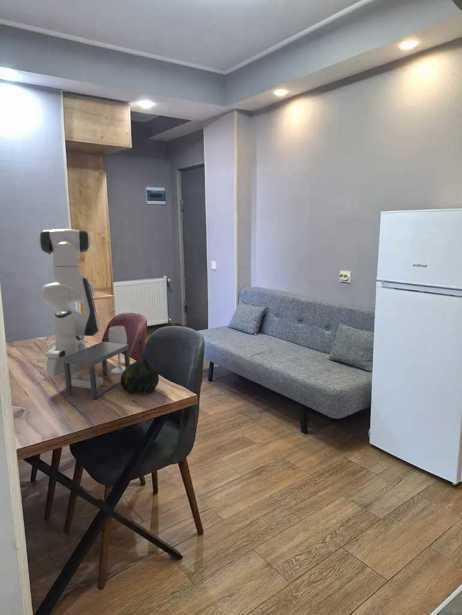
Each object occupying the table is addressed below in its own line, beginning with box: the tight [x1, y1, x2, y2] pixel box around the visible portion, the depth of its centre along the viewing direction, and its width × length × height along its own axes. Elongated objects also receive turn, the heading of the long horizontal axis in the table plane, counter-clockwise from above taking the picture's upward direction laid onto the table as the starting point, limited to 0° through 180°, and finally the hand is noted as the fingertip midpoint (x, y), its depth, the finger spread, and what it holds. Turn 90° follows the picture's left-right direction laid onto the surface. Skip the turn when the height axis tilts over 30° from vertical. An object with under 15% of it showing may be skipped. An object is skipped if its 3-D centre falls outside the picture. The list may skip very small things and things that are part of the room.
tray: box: [71, 370, 103, 390], centre depth 180 cm, size 14×6×5 cm, turn 67°
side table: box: [63, 341, 131, 401], centre depth 176 cm, size 14×24×16 cm, turn 158°
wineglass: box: [108, 325, 128, 375], centre depth 194 cm, size 9×9×21 cm
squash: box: [120, 358, 160, 395], centre depth 171 cm, size 14×15×15 cm
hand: (69, 378), depth 183 cm, fingers closed, pressing on tray
